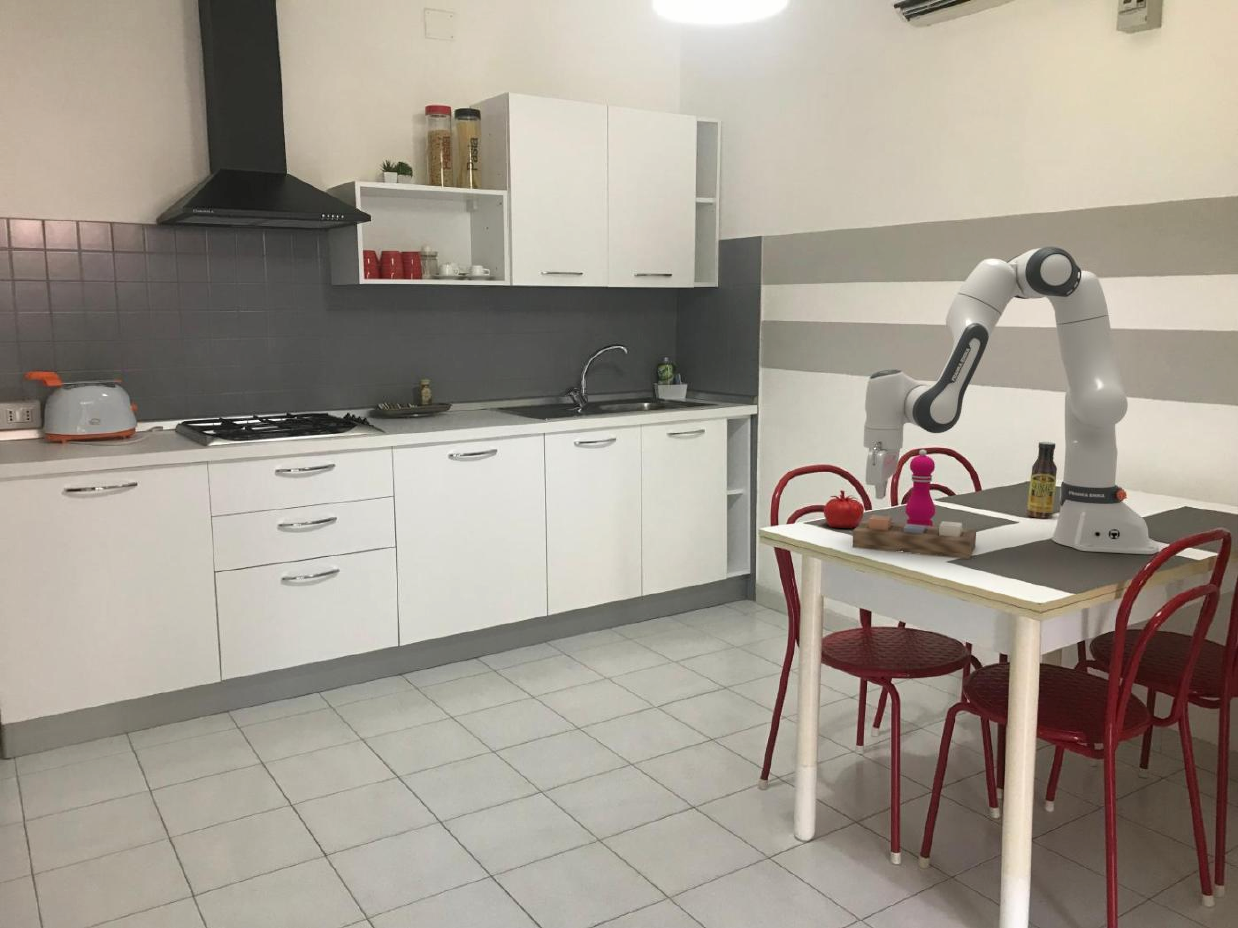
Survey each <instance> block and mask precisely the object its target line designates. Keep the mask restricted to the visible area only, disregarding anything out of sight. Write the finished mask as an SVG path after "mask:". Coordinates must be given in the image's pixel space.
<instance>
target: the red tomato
mask: <svg viewBox="0 0 1238 928" xmlns="http://www.w3.org/2000/svg"><path fill="white" fill-rule="evenodd" d="M839 493H840V494H839V496H838V495H830V498H831V499H830V500H828V501H827V502H826V503H825V505H824V508H823V516H824V518H825V522H826V524H827V526H828V527H832V528H836V529H837V528H838V529H853V528H854V529H855V528H856V527H857V526H858V525H859V524H860V523H861V522H862V520H864V511H865V507H864V505H863V504H862V503H861V502H860V501H858V500H859V498H856V497H854V496H851V495H848V496H845V490H840V491H839Z"/></svg>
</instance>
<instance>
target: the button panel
mask: <svg viewBox="0 0 1238 928" xmlns="http://www.w3.org/2000/svg"><path fill="white" fill-rule="evenodd" d="M862 520H863V521H861V522H860V523H859V524H858V525H857V526H855V527H854V529H852V548H856V547H859V548H858V549H868V550H878V551H885V552H886V551H887V552H896V551H903V552H902V553H905V552H911V553H910V554H915V553H920V554H919V555H925V554H926V555H928V556H937V557H944V558H945V557H946V558H955V559H964V560H965V559H968V560H970V558H971V557H972V555H973V552H974V551H975V549H976V543H977V542H976V541H977V529H965V528H962V536H961V537H953V536H943V535H939V528H940V526H934V525H933V526H926V532H925V534H921V533H911V532H903V528H904V527H905V525H906V524H907V523H900V522H891V529H890V530H879V529H869V519H868V520H866V519H862Z"/></svg>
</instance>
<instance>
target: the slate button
mask: <svg viewBox="0 0 1238 928" xmlns="http://www.w3.org/2000/svg"><path fill="white" fill-rule="evenodd" d="M905 524H906V525H905V527H904V528H903V532H911V533H921V534H925V532H926V526H925V525H914V524H907V523H905Z"/></svg>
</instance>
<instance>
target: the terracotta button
mask: <svg viewBox="0 0 1238 928" xmlns="http://www.w3.org/2000/svg"><path fill="white" fill-rule="evenodd" d="M868 520H869V529H879V530H890V529H891V523H892V516H888V515H886V516H885V515H877V514H876V515H875V514H873V515H871V516H870V517H869V518H868Z"/></svg>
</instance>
